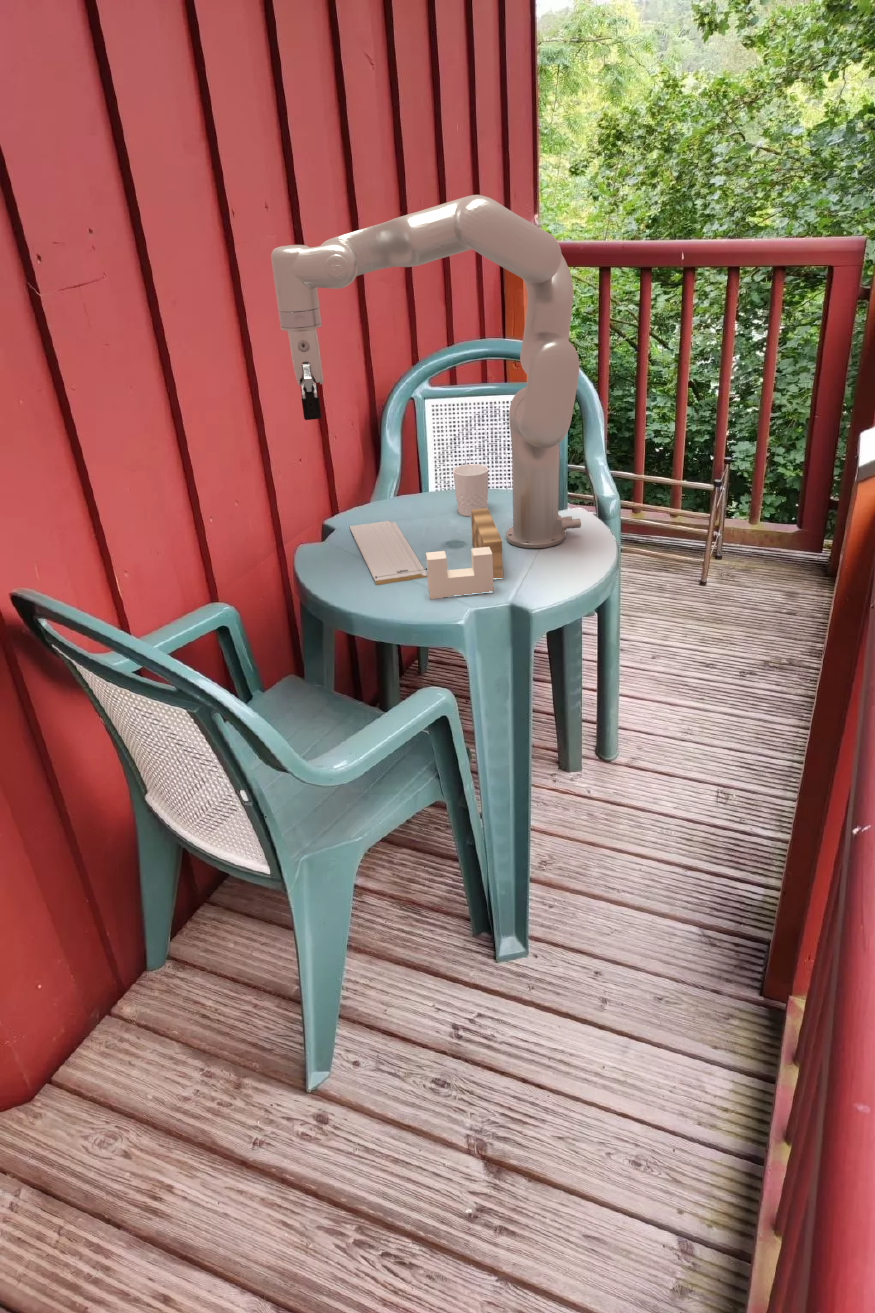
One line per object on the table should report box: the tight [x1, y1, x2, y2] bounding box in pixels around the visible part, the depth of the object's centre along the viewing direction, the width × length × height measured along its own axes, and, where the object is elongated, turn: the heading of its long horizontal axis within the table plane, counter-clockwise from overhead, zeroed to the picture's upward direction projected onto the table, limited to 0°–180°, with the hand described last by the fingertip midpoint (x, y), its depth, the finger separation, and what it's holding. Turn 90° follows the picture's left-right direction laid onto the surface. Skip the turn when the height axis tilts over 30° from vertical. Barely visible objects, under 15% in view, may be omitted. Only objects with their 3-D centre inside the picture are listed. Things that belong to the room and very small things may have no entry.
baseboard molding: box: [349, 520, 428, 586], centre depth 190 cm, size 31×3×12 cm
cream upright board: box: [425, 547, 494, 600], centre depth 169 cm, size 12×4×8 cm, turn 96°
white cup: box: [452, 463, 489, 517], centre depth 205 cm, size 8×8×10 cm
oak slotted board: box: [470, 507, 504, 579], centre depth 181 cm, size 18×4×8 cm, turn 6°
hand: (312, 412), depth 174 cm, fingers open, 9 cm apart
